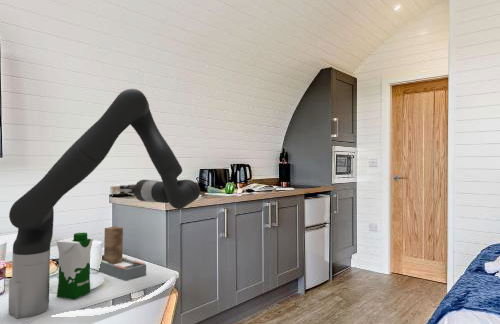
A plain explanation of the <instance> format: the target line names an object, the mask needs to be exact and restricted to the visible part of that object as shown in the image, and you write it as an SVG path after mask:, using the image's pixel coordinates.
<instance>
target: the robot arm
mask: <svg viewBox="0 0 500 324" xmlns="http://www.w3.org/2000/svg"><path fill="white" fill-rule="evenodd" d="M129 126H131V127H132V128H133V130H134V131H135V132H136V134H137V135H138V137H139V138H140V140H141V142H142V143H143V145H144V147H145V150H146V152H147V154H148V156H149V158H150V161H151V162H152V164H153V166H154V168H155V169H156V171H157V173H158V174H159V177H160V178H161V181H160V180H155V179H154V180H153V179H141V180H138V181H137V182H136V184H135V183H134V184H127V185H119V194H120V195H125V194H127V195H131V196H133V197H134V196H135V198H136V199H137V200H138V201H140V202H147V203H155V204H156V203H159V204H160V203H161V204H170V206H171V207H173V208H174V209H176V210H182V209H184V208H186V207H187V206H188V205H191V204H192V203H193V202H195V201H196V200H198V198H199V197H200V195H201V187H200V185H199V184H198V183H197V182H196V181H194V180H192V179H180V180H178V177H179V176H180V175H181V174H182V172H183V167H182V165H181V164H180V162H179V161H178V158H177V157H176V155H175V153H174V151H173V150H172V149H171V146H169V144H168V142H167V140H165V138H164V136H163V135H162V133H161V132H160V130H159V129H158V127H157V124H156V122H155V120H154V117H153V114H152V112H151V110H150V104H149V101H148V99H147V97H146V95H145V94H144V93H143V92H142V91H141V90H139V89H137V88H127V89H125V90H123V91H121V92H120V93H119V94H118V95H117V96H116V98H115V99H114V100H113V101H112V103H111V104H110V105H109V106H108V108H107V109H106V110H105V112H104V113H103V114H102V115H101V117H99V119H97V121H95V123H93V124H92V125H91V126H90V127H89V128H88V129H87V130H86V131H85V132H84V133H83V134H81V136H80V137H79V138H78V139H77V140H76V141H75V142H74V143H72V145H70V147H69V148H68V149H66V151H65V152H64V153H63V154H62V155H61V157H60V158H59V159H58V160H57V161H56V162H55V163H54V164H53V166H52V167H51V168H50V169H49V170H48V171H47V173H46V174H45V175H44V176H43V177H42V178H41V179H40V180H39V181H38V182H37V183H36V184H35V185H33V187H32V188H30V189H29V190H27V191H26V192H25V193H24V194H23V195H22V196H21V197H20V198H18V199H17V200H16V201H15V202H14V203H13V204H12V205H11V208H10V210H9V214H8V217H9V221H10V223H11V225H12V226H13V227H15V228H16V229H17V235H16V238H15V240H14V242H13V244H12V264H11V265H12V269H11V270H12V271H11V273H12V275H11V278H9V279H8V314H9V315H11V316H12V317H14V318H15V319H19V318H25V317H26V318H27V317H33V316H36V315H39V314H42V313H44V312H46V311H48V310H49V307H50V275H51V274H50V273H51V269H50V267H51V265H50V263H51V260H50V259H51V243H52V240H53V232H54V216H55V214H54V207H55V205H56V204H57V203H58V202H59V201H60V200H61V198H62V197H64V196H65V195H66V194H67V193H68V192H69V191H71V190H73V188H75V187H76V186H77V185H78V184H80V183H81V182H83V181H84V180H86V178H87V177H88V176H89V175H90V174H92V172H94V170H96V169H97V167H99V165H100V164H101V163H102V162H103V161H104V159H105V158H107V156H108V154H109V152H110V150H111V149H112V147H113V146H114V144H115V142H116V141H117V139H118V138H119V136H120V135H121V134H122V133H123V132H124V131H125V130H126V129H127V128H128V127H129Z"/></svg>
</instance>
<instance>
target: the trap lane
mask: <svg viewBox="0 0 500 324" xmlns="http://www.w3.org/2000/svg"><path fill="white" fill-rule="evenodd" d="M101 255H102V260H101V264H100V268H99V271H98V272H99V273H102V274H105V275H107V276H110V277H114V278H117V279H119V280H121V281H125V282H126V281H130V280H134V279H138V278H140V277H144V276H147V264H146V263H145V262H141V261H139V260H138V261H137V260H131V259H128V258H127V257H124V256H122V263H118V264H114V265H113V264H110V263H109V262H106V261H104V254H101Z"/></svg>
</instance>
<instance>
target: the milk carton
mask: <svg viewBox="0 0 500 324" xmlns="http://www.w3.org/2000/svg"><path fill="white" fill-rule="evenodd" d="M93 241H94V238H92V237H88V233H87V232H76V233H73V236H72V237H69V238H64V239H60V240H57V241H56V245H57V250H58V282H57V291H56V298H61V299H67V300H73V301H75V300H77V299H79V298H81V297H84V296H86V295H87V294H90V293H91V277H90V276H91V268H90V258H91V249H92V245H93Z"/></svg>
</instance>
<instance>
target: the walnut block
mask: <svg viewBox="0 0 500 324" xmlns="http://www.w3.org/2000/svg"><path fill="white" fill-rule="evenodd" d="M123 237H124V227H121V226H109V227H104V241H103V242H104V243H103V245H104V246H103V247H104V251H103V255H104V261H106V262H109V263H110V264H113V265H114V264H118V263H122V257H123V249H124V245H123V241H124V240H123V239H124V238H123Z"/></svg>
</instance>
